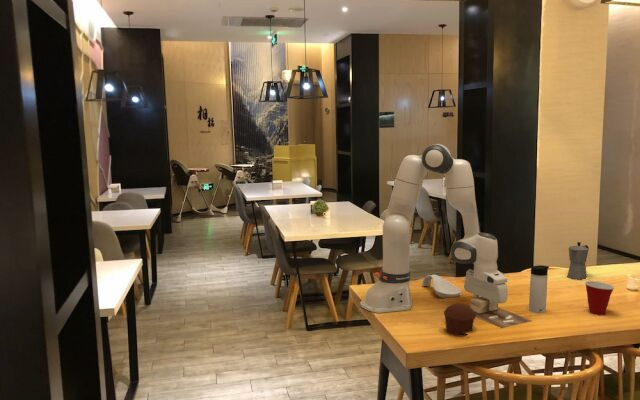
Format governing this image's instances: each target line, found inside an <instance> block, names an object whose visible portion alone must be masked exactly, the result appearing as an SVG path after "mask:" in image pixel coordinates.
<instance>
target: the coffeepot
mask: <svg viewBox="0 0 640 400" xmlns="http://www.w3.org/2000/svg"><path fill="white" fill-rule="evenodd" d="M576 243H577V245H571V246H569V247H568V254H569V255H568V256H569V261H570V263H569V268H568V270H567V271H568V272H567V278H568V279H570V278H571V279H570V280H575V279H577V281H583V280H582V279H586V278H587V277H588V274H587V266H586V262H587V259H588V256H589V255H588V253H589V246H588V244H585V245H582V242H580V241H577V242H576ZM586 280H587V279H586Z"/></svg>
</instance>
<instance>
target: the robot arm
mask: <svg viewBox="0 0 640 400" xmlns="http://www.w3.org/2000/svg"><path fill="white" fill-rule="evenodd" d="M472 170H473V169H472V166H471V163H470V162H469V161H468V160H465V159H462V158H460V159H459V158H458V159H457V158H456V159H455V158H454V157H452V153H451V151H450V149H449V148H448V147H447V146H445V145H444V144H441V143H434V144H431V145H428V146H427V147H425V149H424V150H423V152H422V153H421V154H420V155H417V154H409V155H406V156H405V157H404V158H403V159H402V161H401V163H400V166H399V169H398V170H397V173H396V177H395V180H394V185H393V189H392V191H391V195H390V199H389V203H388V206H387V210H386V213H385V218H384V221H383V224H382V270H381V272H377V271H376V272H374V277H377V278H378V280H377V281H376V282H375V283H374V284H373V285H372V286H371V287H370V288H369V289H367V291H366V293H365V299H364V300H362V301H360V302H359V306H360V307H361V308H363V309H365V310H366V311H369V312H372V313H376V314H380V313H382V314H383V313H389V312H391V313H392V312H400V311H408V310H411V307H412V306H413V301H412V296H411V289H410V281H411V271H410V248H411V247H410V243H411V242H410V241H411V224H412V219H413V217H414V214H415V210H416V208H417V204H418V201H419V197H420V194H421V191H422V187H423V183H424V179H425V176H426V175H427V173H428V172H432V173H437V174H438V173H439V174H442V175H443V176H444V179H445V192H446V199H447V202H448V204H449V205H450V206H451V207H452V209H455V210H456V211H458V212H459V213H460V214H461V218H462V224H463V228H464V229H463V231H464V236H463V238H461V239H459V240H457V241H455V242H454V243H453V244H452V245H451V248H450V256H451V258H452V259H453V261H455V262H456V263H458V264H462V265H464V264H465V265H467V264H473V269H471V268H469V269H467V270H466V272H465V274H466V275H465V278H464V281H463V282H464V283H463V288H464V289H463V290H464V291H465V292H467V293H470V294H473V298H478V297H483V298H486V299H489V302H490V305H488V306H487V310H490V311H492V310H493V306H494V304H495V303H496V302H497V303H498V304H504V303H506V302H507V301H508V286H507V283H508V277H507V276H506V275H505V274H504V275H503V274H502V273H503V272H501V271H499V270H498V264H497V260H498V257H499V249H498V248H499V246H498V245H499V244H498V239H497V237H495V235H494V234H491V233H487V232H481V227H480V226H481V225H480V221H479V213H478V208H477V201H476V194H475V193H476V192H475V190H476V189H475V179H474V176H473V175H474V173H473V171H472Z"/></svg>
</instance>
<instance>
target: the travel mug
mask: <svg viewBox="0 0 640 400" xmlns="http://www.w3.org/2000/svg"><path fill="white" fill-rule="evenodd" d="M549 268H550V266H548V265H542V264H541V265H538V264H537V265H533V266H532V267H530V276H529V277H530V280H529V281H530V282H529V299H528V300H529V301H528V311H529V312H531V313H535V314H546V311H547V294H548V278H549V277H548V275H549V274H548V271H549V270H548V269H549Z"/></svg>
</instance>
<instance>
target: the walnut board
mask: <svg viewBox="0 0 640 400" xmlns="http://www.w3.org/2000/svg"><path fill="white" fill-rule="evenodd" d="M475 314H476V313H475ZM509 315H510V316H513V318H511V319H510V320H513V321H514V323H506V324H504V323H503V321H508V320H505V318H506V317H508V316H509ZM492 316H499V317H498V318H496V319H492V320H490V319H488V317H492ZM476 318H477V319H479V320H480V321H484V322H485V323H488V324H491V325H493V326H495V327H497V328H500V329H505V328H509V327H513V326H518V325H521V324H526V323H530V322H533V320H531V319H529V318H526V317H523V316H521V315H519V314H517V313H513V312H510V311H507V310H505V309H503V308H500V307H498V311H494V312H490V313H485V314H481V315H479V314H476ZM476 318H475V319H476Z"/></svg>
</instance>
